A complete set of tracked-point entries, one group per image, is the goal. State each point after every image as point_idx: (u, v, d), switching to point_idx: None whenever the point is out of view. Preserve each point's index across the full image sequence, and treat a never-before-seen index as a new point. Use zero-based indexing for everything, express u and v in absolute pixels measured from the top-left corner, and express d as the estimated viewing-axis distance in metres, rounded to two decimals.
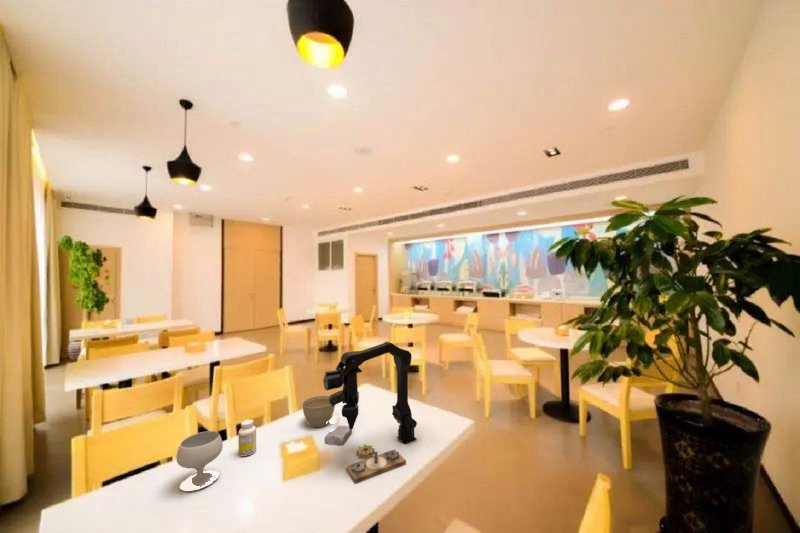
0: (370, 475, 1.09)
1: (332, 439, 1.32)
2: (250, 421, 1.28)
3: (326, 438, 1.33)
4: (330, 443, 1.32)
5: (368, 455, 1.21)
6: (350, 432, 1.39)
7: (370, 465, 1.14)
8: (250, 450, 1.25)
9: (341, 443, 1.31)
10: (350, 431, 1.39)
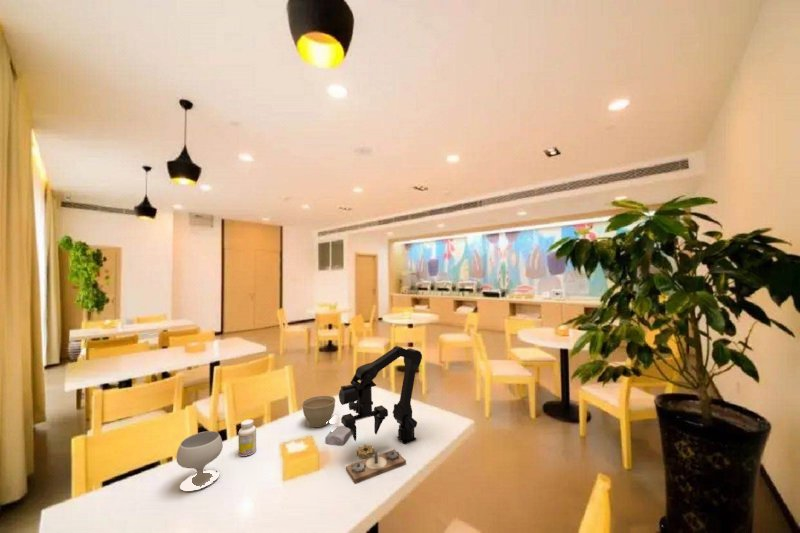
0: (370, 475, 1.09)
1: (333, 439, 1.32)
2: (250, 421, 1.28)
3: (327, 438, 1.33)
4: (331, 443, 1.32)
5: (368, 455, 1.21)
6: (350, 432, 1.39)
7: (370, 465, 1.14)
8: (250, 450, 1.25)
9: (342, 443, 1.31)
10: None
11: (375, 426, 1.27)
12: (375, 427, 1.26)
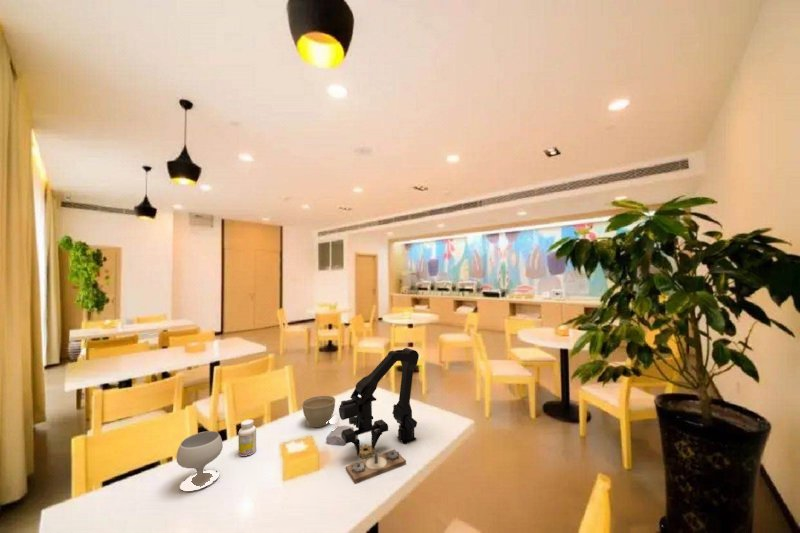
0: (370, 475, 1.09)
1: (334, 439, 1.32)
2: (250, 421, 1.28)
3: (328, 438, 1.33)
4: (332, 443, 1.32)
5: (368, 455, 1.21)
6: None
7: (370, 465, 1.14)
8: (250, 450, 1.25)
9: (343, 443, 1.31)
10: None
11: (372, 442, 1.26)
12: (372, 442, 1.25)
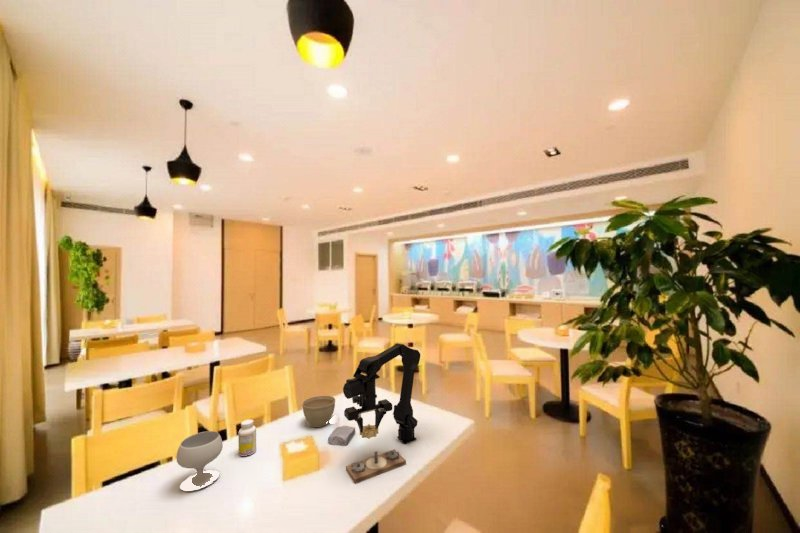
0: (370, 475, 1.09)
1: (335, 439, 1.32)
2: (250, 421, 1.28)
3: (329, 438, 1.33)
4: (334, 443, 1.31)
5: (371, 434, 1.18)
6: (353, 433, 1.38)
7: (370, 465, 1.14)
8: (250, 450, 1.25)
9: (345, 443, 1.31)
10: (353, 431, 1.39)
11: (376, 421, 1.22)
12: (376, 422, 1.22)
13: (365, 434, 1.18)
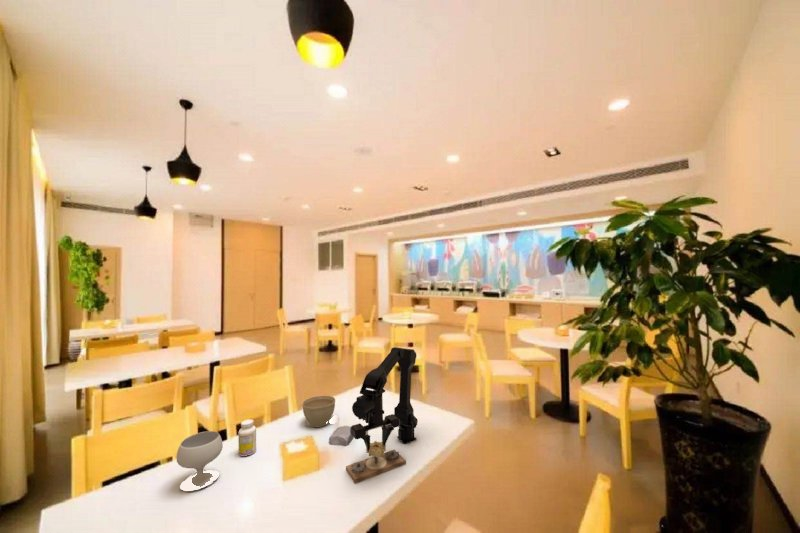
0: (370, 475, 1.09)
1: (337, 439, 1.32)
2: (250, 421, 1.28)
3: (331, 438, 1.32)
4: (335, 443, 1.31)
5: (379, 452, 1.13)
6: None
7: (370, 465, 1.14)
8: (250, 450, 1.25)
9: (346, 443, 1.31)
10: None
11: (383, 438, 1.17)
12: (383, 438, 1.17)
13: (372, 452, 1.13)
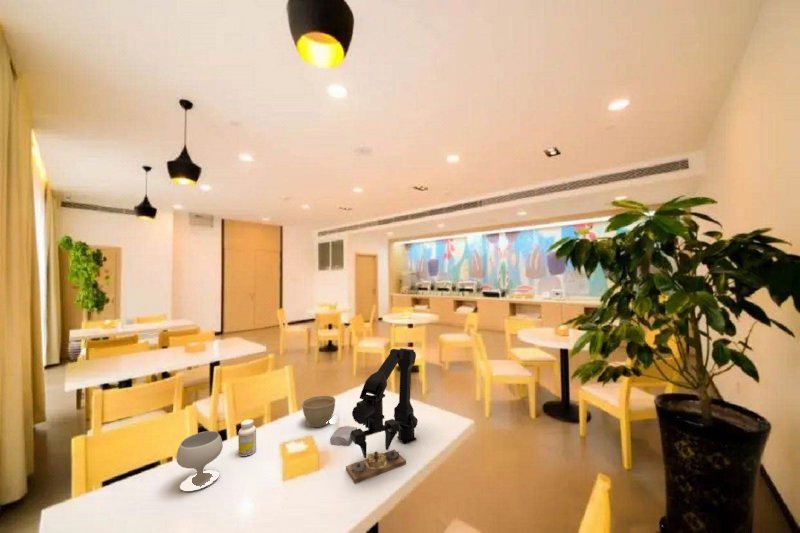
0: (370, 475, 1.09)
1: (338, 440, 1.32)
2: (250, 421, 1.28)
3: (332, 439, 1.32)
4: (336, 444, 1.31)
5: (379, 463, 1.13)
6: None
7: None
8: (250, 450, 1.25)
9: (347, 444, 1.30)
10: None
11: (386, 441, 1.18)
12: (386, 442, 1.18)
13: (373, 464, 1.12)
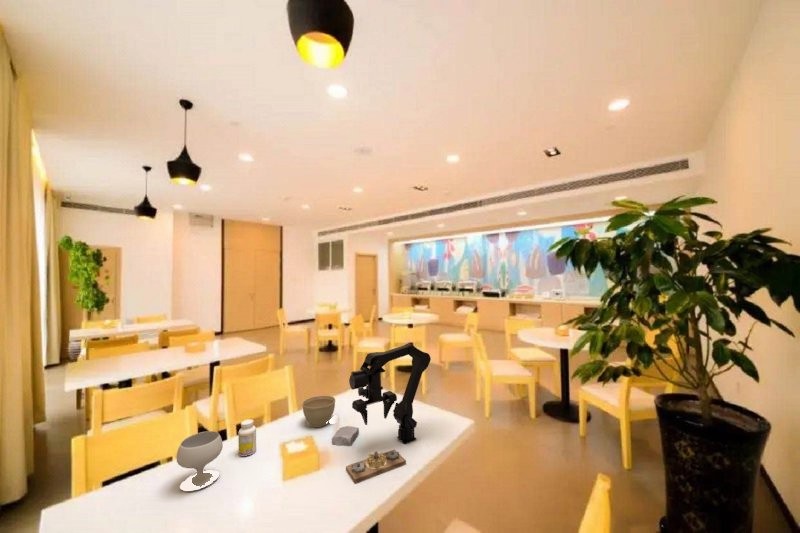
0: (370, 475, 1.09)
1: (339, 440, 1.31)
2: (250, 421, 1.28)
3: (333, 439, 1.32)
4: (338, 444, 1.31)
5: (379, 463, 1.13)
6: (357, 433, 1.38)
7: None
8: (250, 450, 1.25)
9: (349, 444, 1.30)
10: (357, 432, 1.39)
11: (384, 411, 1.30)
12: (384, 411, 1.30)
13: (373, 464, 1.12)
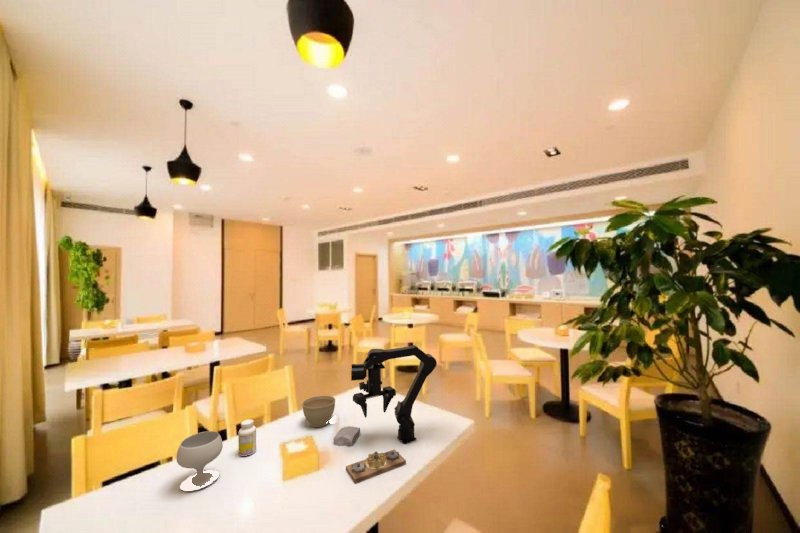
0: (370, 475, 1.09)
1: (341, 440, 1.31)
2: (250, 421, 1.28)
3: (335, 439, 1.32)
4: (339, 444, 1.31)
5: (379, 463, 1.13)
6: (358, 433, 1.38)
7: None
8: (250, 450, 1.25)
9: (350, 444, 1.30)
10: (358, 432, 1.39)
11: (384, 405, 1.36)
12: (384, 405, 1.36)
13: (373, 464, 1.12)
